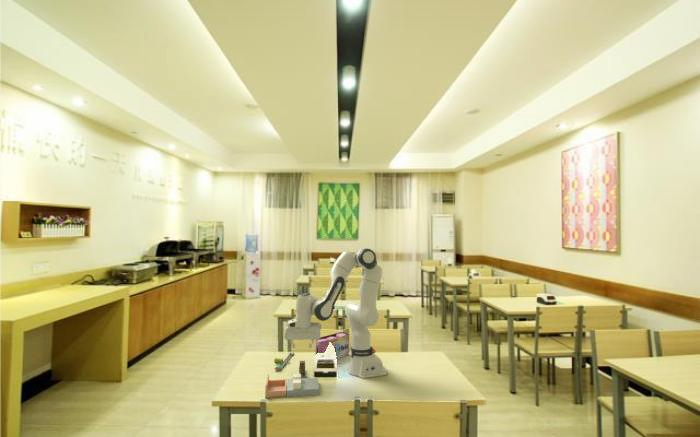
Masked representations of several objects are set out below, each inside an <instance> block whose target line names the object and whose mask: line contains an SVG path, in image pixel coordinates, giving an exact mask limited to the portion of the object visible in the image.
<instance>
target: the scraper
mask: <svg viewBox="0 0 700 437" xmlns="http://www.w3.org/2000/svg"><path fill="white" fill-rule="evenodd" d="M298 372H299V373H298V374H301V378H306V360H299V367H298Z"/></svg>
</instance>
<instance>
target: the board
mask: <svg viewBox="0 0 700 437" xmlns="http://www.w3.org/2000/svg"><path fill="white" fill-rule="evenodd" d="M286 379H287V378H286ZM319 395H320V386H319V379H318V377H305V378H301V389H293V378H289V379H287V388H286V397H287V398H290V397H306V396H319Z"/></svg>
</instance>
